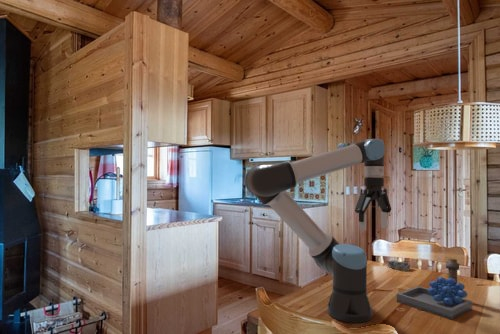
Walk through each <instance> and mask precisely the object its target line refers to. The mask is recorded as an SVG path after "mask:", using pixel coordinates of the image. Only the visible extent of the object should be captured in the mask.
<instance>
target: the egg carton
mask: <svg viewBox="0 0 500 334" xmlns="http://www.w3.org/2000/svg"><path fill="white" fill-rule="evenodd" d="M386 262H387V268H388V267H389V268H393V269H392V270H396V271H400V270H401V271H403V272H409V270H411V268H410V267H411V262H410V261H409V262H404V261H397V260H395V259H393V260H387V261H386ZM389 268H388V269H389ZM408 269H409V270H408Z"/></svg>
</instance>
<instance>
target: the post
mask: <svg viewBox="0 0 500 334" xmlns="http://www.w3.org/2000/svg"><path fill="white" fill-rule="evenodd" d="M447 260H448V261H446V262H445V268H446V269H448V270H447V272H448V277H447V278H454V279H455V280H456V283H458V271H459V270H460V263H459V262H458V260H457V259H455V258H448V259H447ZM461 298H462V297H461Z"/></svg>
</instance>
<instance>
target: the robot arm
mask: <svg viewBox="0 0 500 334" xmlns="http://www.w3.org/2000/svg"><path fill="white" fill-rule="evenodd" d="M385 153H386V147H385V142H384V139H381V138H369V139H365V140H362V141H356V142H355V141H354V142H340V143H339V144H338V145H337V148H336V149H333V150H330V151H326V152H322V153H319V154H316V155H312V156H309V157H307V158H301V159H300V160H295V161H292V162H291V161H288V160H285V161H282V162H279V163H277V162H276V163H267V164H256V165H254V166H252V167H251V168H249V169H248V171H247V172H246V173H245V175H244V185H245V187H246V189H247V191H248V192H249V193H251V194H252V195H254V196H255V197H256V198H257V200H259V201H260V203H261V204H262V205H263V206H269V207H270V208H271V210H274V212H275V213H276V214H277V215H278V216H279V218H281V220H283V222H284V223H285V224H286V225H287V226H288V227H289V228H290V230H292V231H293V233H295V235H296V236H297V237H298V238H299V239H300V240H301V241H302V242H303V244H305V246H306V247H307V248H308V254H309V255H310V257H311V258H312V259H313V260H314V262H315V264H316V266H318V268H320V269H321V270H323V271H325V272H327V273H328V274H330V275H331V276H332V291H331V294H330V297H329V300H328V303H327V314H328V315H329V316H330V317H332V318H334V319H336V320H338V321H342V322H345V323H352V324H353V323H354V324H355V323H356V324H358V323H366V322H369V321H370V320H372V318H373V309H372V306H371V303H370V299H369V296H368V292H367V285H368V283H367V280H368V279H367V276H368V275H367V267H368V259H367V253H366V251H365V250H364V249H363V248H361V247H360V246H357V245H353V244H348V243H339V241H337V240H336V239H335V237H334V236H333V235H332V234H331V233H325V232H324V230H322V229H321V228H320V226H318V224H317V223H316V222H315V221H314V220H313V219H312V218H311V216H309V215H308V213H307V212H306V211H305V210H304V209H303V208H302V207H301V206H300V204H299V203H298V202H297V201H296V199H295V198H293V197H292V196H291V194H290V193H288V190H291V189H294V188H296V187H297V186H298V184H300V183H303V182H307V181H310V180H312V179H315V178H318V177H321V176H326V175H328V174H331V173H334V172H338V171H341V170H343V169H347V168H351V167H353V166H356V165H359V164H363V165H364V171H363V172H364V173H363V175H364V176H365V177H364V184H363V185H364V187H366V188H360V194H359V196H358V199H357V203H356V206H355V208H354V212H355V213H356V214H358V223H359V225H358V226H359V227H358V229H359V230H360V231H363V232H364V231H367V213H366V211H367V209H368V208H369V206H370V204H371V202H372V201H376V202H377V204H378V207H379V209H380V210H381V211H380V228H381V229H388V219H389V218H388V217H389V215H388V213H391V211H392V207H391V203H390V200H389V197H388V190H387V189H386V188H383V187H384V186H385V178H384V176H385V172H384V171H385V167H384V166H385Z"/></svg>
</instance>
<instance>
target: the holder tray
mask: <svg viewBox="0 0 500 334" xmlns="http://www.w3.org/2000/svg"><path fill="white" fill-rule="evenodd" d="M428 289H429V288H428V287H427V288H426V287H423V286H420V285H416V286H414V287H412V288H409V289H406V290H403V291H400V292H398V293H396V302H397V303H401V304H404V305H405V306H409V307H412V308H415V309H419V310H421V311H424V312H427V313H430V314H433V315H437V316H440V317H442V318H445V319H449V320H451V321H452V320H454V319H456V318H458V317H460V316H462V315H464V314H466V313H467V312H469V311H472V309H473V305H472V304H473V303H472V300H469V299H466V298H462V299H463V302H462V303H460V304H457V303H455V302H453V304H452V305H446V304H445V303H444V302H443V301H441V302H438V301H436V300H434V298H433V296H434V295H431V294H430V293H429V292H428Z"/></svg>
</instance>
